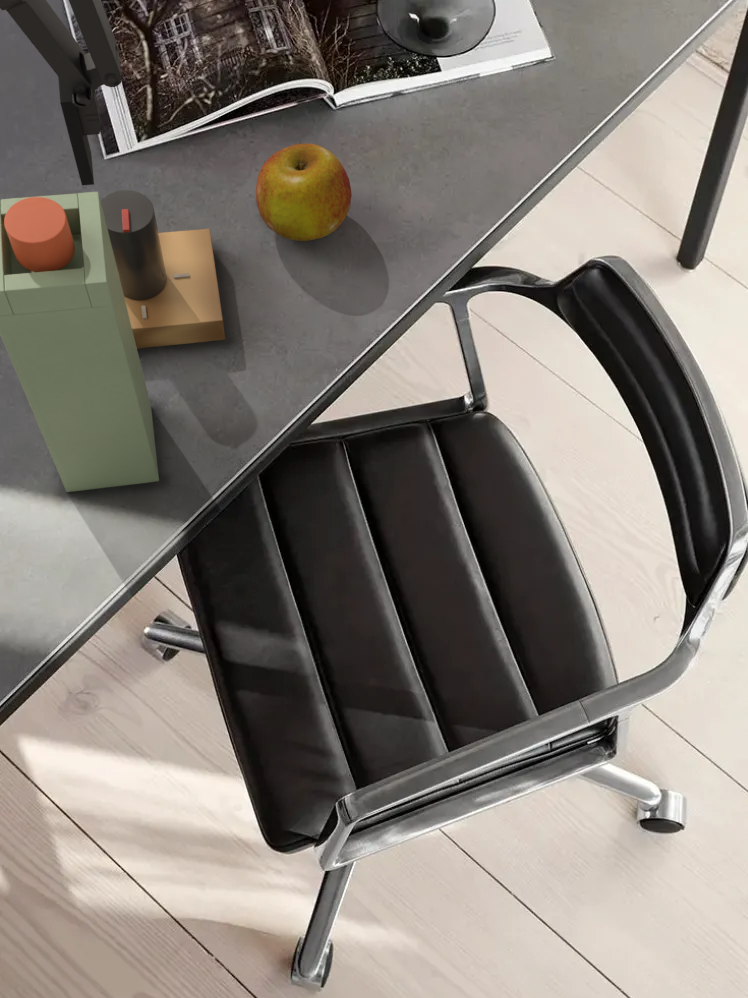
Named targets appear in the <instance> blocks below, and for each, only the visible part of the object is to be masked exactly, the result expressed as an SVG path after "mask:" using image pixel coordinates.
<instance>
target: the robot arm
mask: <svg viewBox="0 0 748 998" xmlns="http://www.w3.org/2000/svg"><path fill="white" fill-rule="evenodd" d="M68 2H69V5H70V8H71V9H72V12H73V15H74V18H75V20H76V22H77V25H78V27H79V30H80V33H81V35H82V38H83V40H84V43H85V45H86V47H87V50H88V52H85V51H84V50H83V48H82V47H81V46H80V44H79V43H78V42H77V40H76V39H75V37H74V35H72V33H71V32H70V31H69V29H68V28H67V26H66V25H65V24H64V23H63V21H62V19H61V18H60V17H59V15H58V14H57V13H56V12H55V10H54V9H53V8H52V6H51V5H50V3H49V2H48V1H47V0H0V10H1V11H6V12H7V13H8V15H9V16H10V17H11V18H12V20H13V21H14V22H15V23H16V24H17V26H18V27H19V29H20V30H21V31H22V33H23V34H24V35H25V36H26V37H27V39H28V40H29V41H30V43H31V44H32V45H33V46H34V48H35V49H36V50H37V52H38V53H39V54H40V55H41V56H42V59H44V60H45V62H46V63H47V64H48V65H49V67H50V68H51V69H52V71H53V72H54V73H55V74H56V76H57V77H58V78H57V80H58V89H59V92H58V93H59V104H60V107H61V111H62V115H63V118H64V122H65V126H66V130H67V134H68V138H69V142H70V145H71V149H72V153H73V157H74V160H75V164H76V169H77V172H78V176H79V179H80V184H81V186H94V185H95V179H94V168H93V159H92V158H93V156H92V150H91V146H90V142H89V137H88V136H95V135H100V133H101V131H102V119H101V110H100V106H99V101H98V98H97V93H96V90H97V89H98V88H99V87H101V86H105V87H108V88H115V87H118V86H119V85H121V84H122V81H123V77H122V68H121V58H120V53H119V52H120V50H119V45H118V42H117V40H116V37H115V35H114V32H113V29H112V26H111V24H110V21H109V18H108V16H107V13H106V10H105V8H104V5H103V2H102V0H68Z"/></svg>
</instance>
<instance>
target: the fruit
mask: <svg viewBox="0 0 748 998" xmlns="http://www.w3.org/2000/svg"><path fill="white" fill-rule="evenodd" d="M255 201H256V205H257V210H258V213H259V215H260V218H261V219H262V221H263V223H264V224H265V225H266V226H267V228H268V229H270V230H271V231H272V232H274V233H275V234H277V236H279V237H282V238H285V239H286V240H291V241H296V242H308V241H314V240H318V239H323V238H324V237H326V236H329V235H330V234H332V233H333V232H335V231H336V230H337V229H338V228H339V227H340V226H341V225H342V223H343V222H344V221H345V219H346V217H347V216H348V213H349V210H350V208H351V202H352V187H351V181H350V178H349V176H348V173H347V171H346V169H345V167H344V166H343V164H342V163H341V161H340V159H339V158H338V157H337V156H336V155H334V153H333V152H331V151H330V150H329V149H327V148H326V147H323V146H321V145H319V144H315V143H297V144H292V145H289V146H286V147H284V148H281V149H279V150H278V151H276V152H274V153H273V154H271V155H270V156H269V157H268V158H267V159H266V161H264V163H263V164H262V166H261V168H260V170H259V172H258V176H257V179H256V186H255Z"/></svg>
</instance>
